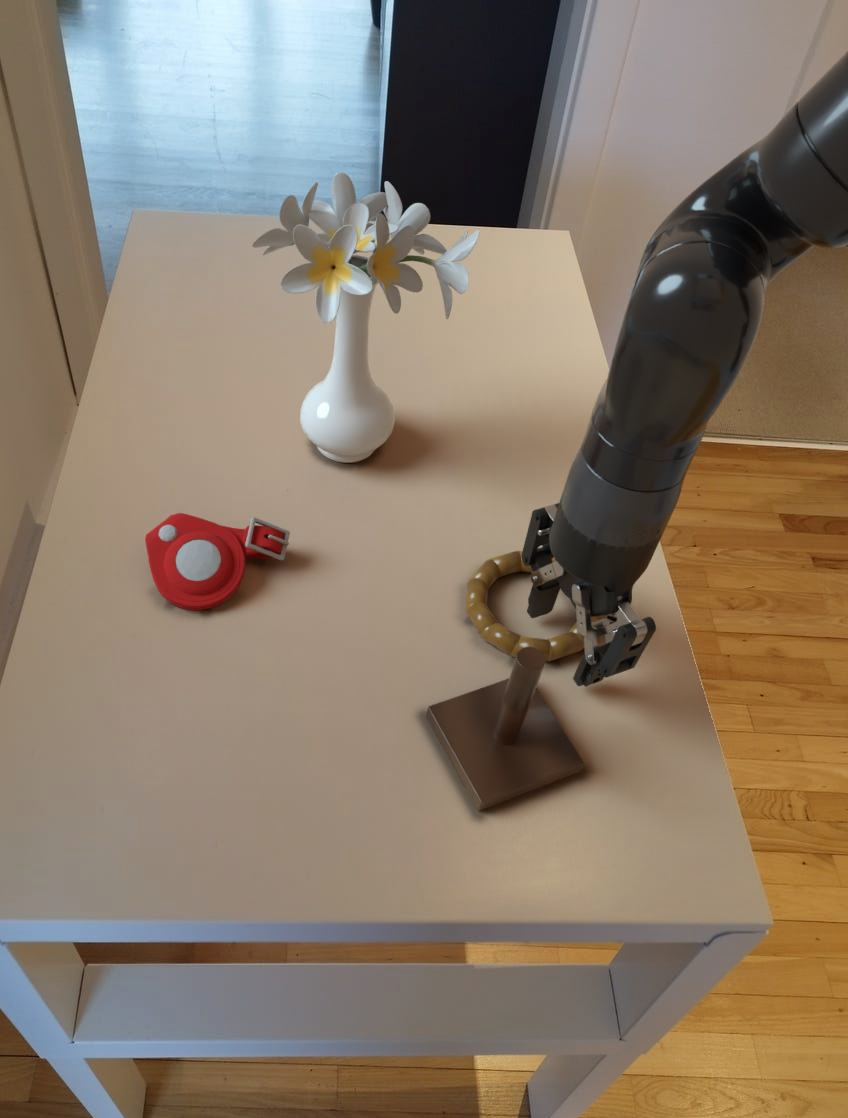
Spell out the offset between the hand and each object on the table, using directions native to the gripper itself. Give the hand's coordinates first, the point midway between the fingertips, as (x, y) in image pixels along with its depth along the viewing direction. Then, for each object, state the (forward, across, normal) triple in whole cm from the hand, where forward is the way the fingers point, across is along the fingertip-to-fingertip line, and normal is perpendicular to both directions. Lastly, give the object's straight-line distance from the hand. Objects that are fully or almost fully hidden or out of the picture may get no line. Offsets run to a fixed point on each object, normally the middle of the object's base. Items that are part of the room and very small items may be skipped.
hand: (561, 645), depth 77 cm
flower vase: (+1, +31, +6) cm, 31 cm away
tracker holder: (+1, +19, +24) cm, 31 cm away
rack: (+1, -6, +9) cm, 11 cm away
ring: (0, +5, 0) cm, 5 cm away
